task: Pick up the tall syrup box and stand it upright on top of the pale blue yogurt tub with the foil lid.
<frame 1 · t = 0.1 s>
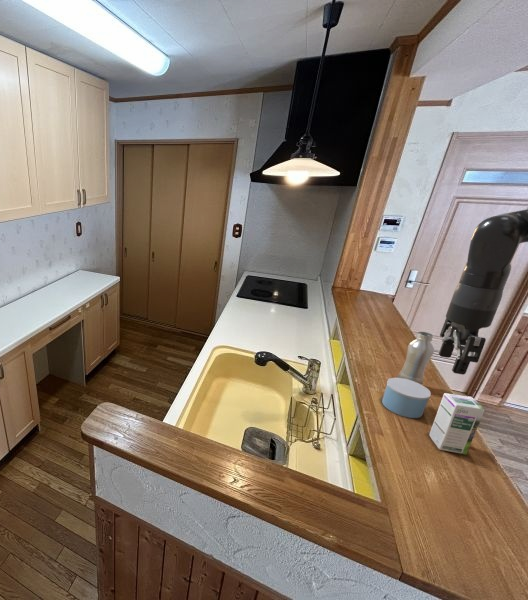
hand: (450, 364, 80), 25 cm above the worktop, tool pointing down, fingers open, 8 cm apart
yogurt tub: (401, 407, 102), on the worktop
syrup box: (446, 445, 87), on the worktop
silver metal bottle: (407, 386, 112), on the worktop
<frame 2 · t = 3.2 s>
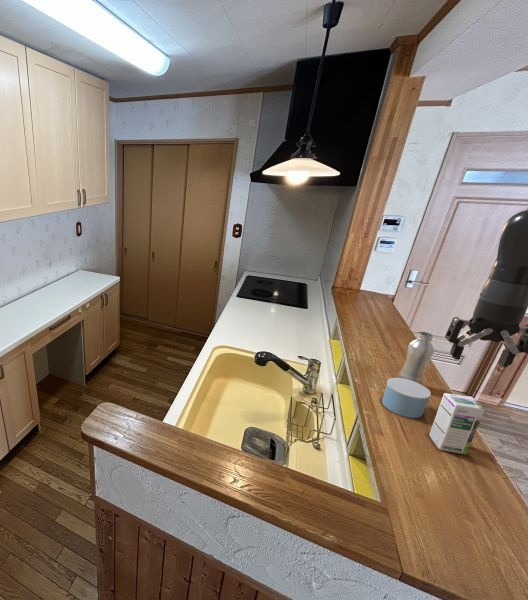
hand: (478, 361, 78), 26 cm above the worktop, tool pointing down, fingers open, 8 cm apart
nothing on the worktop moved.
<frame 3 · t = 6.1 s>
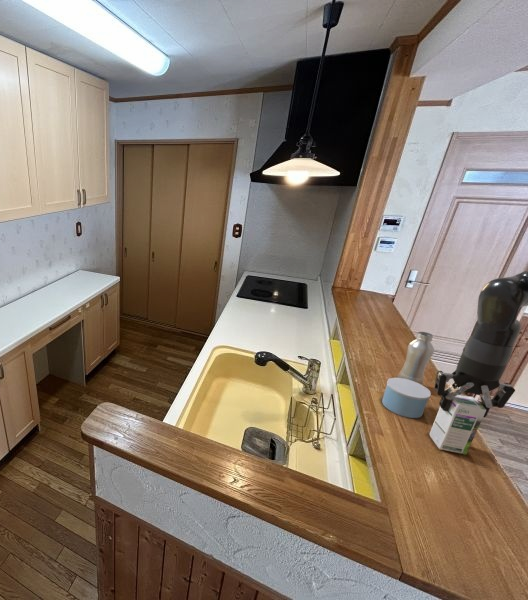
hand: (460, 412, 84), 11 cm above the worktop, tool pointing down, fingers closed on syrup box, 6 cm apart
syrup box: (446, 445, 87), on the worktop, touching gripper
everything else where it was.
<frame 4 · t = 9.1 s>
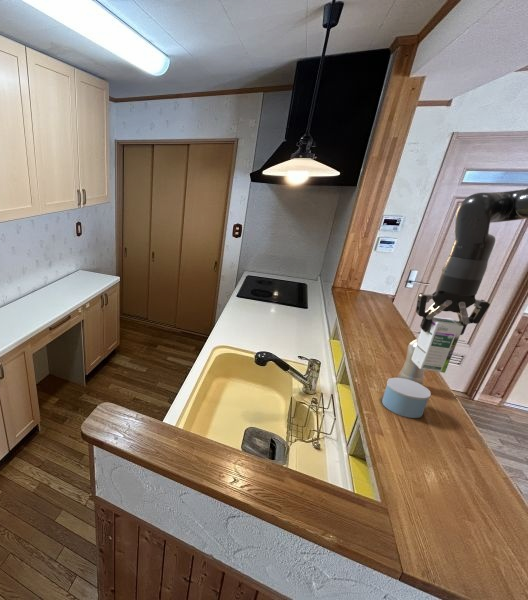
hand: (440, 332, 88), 28 cm above the worktop, tool pointing down, fingers closed on syrup box, 6 cm apart
syrup box: (426, 366, 92), point 17 cm above the worktop, touching gripper
everything else where it was.
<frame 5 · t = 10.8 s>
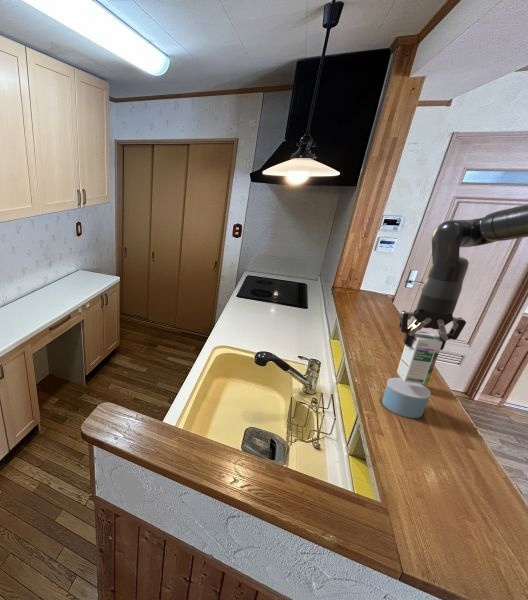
hand: (422, 347, 94), 21 cm above the worktop, tool pointing down, fingers closed on syrup box, 6 cm apart
syrup box: (410, 379, 98), point 10 cm above the worktop, touching gripper
everything else where it was.
when the fingers open (18 cm above the worktop, at t = 12.2 s): syrup box stays where it is, resting on yogurt tub.
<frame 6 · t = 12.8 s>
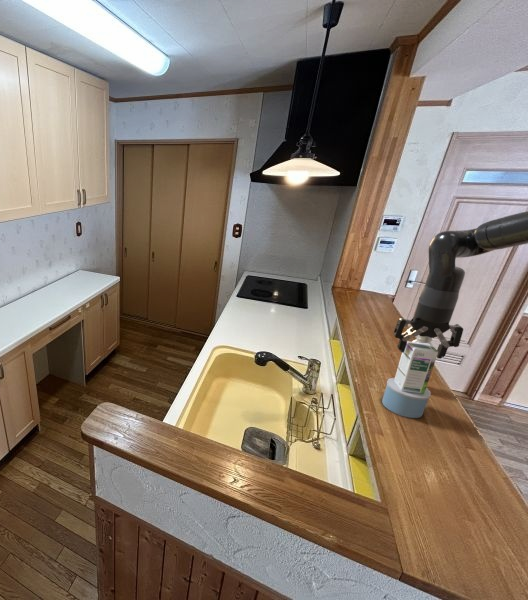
hand: (419, 354, 95), 19 cm above the worktop, tool pointing down, fingers open, 8 cm apart
yogurt tub: (401, 407, 102), on the worktop, touching syrup box
syrup box: (407, 387, 99), point 7 cm above the worktop, touching yogurt tub
everything else where it was.
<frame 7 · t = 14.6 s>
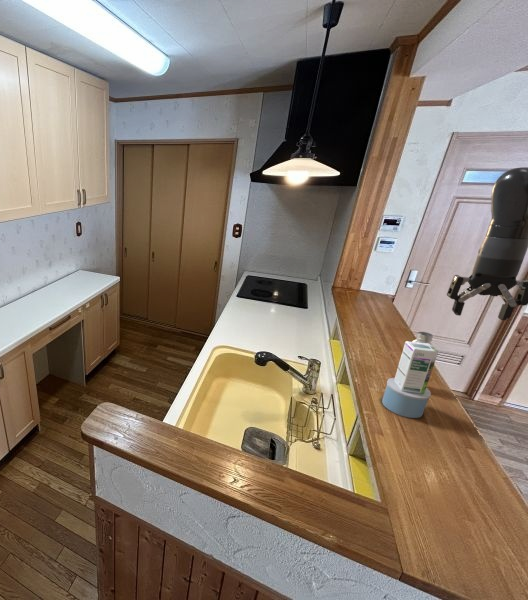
hand: (478, 316, 84), 34 cm above the worktop, tool pointing down, fingers open, 8 cm apart
nothing on the worktop moved.
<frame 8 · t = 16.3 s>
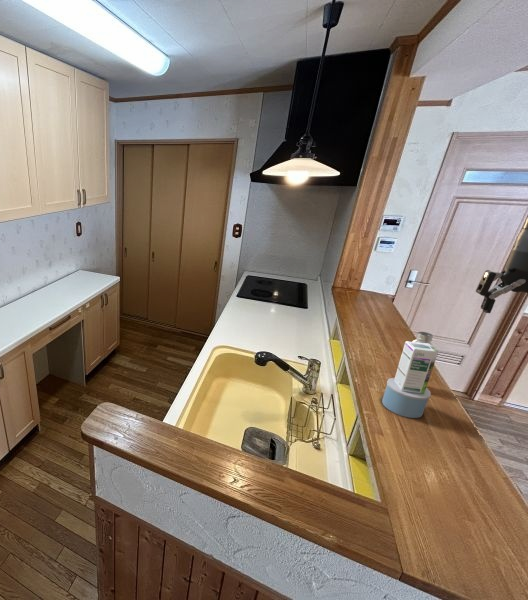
hand: (509, 314, 79), 36 cm above the worktop, tool pointing down, fingers open, 8 cm apart
nothing on the worktop moved.
at the end: syrup box 0.2 cm off-centre on the yogurt tub, point 7.3 cm above the yogurt tub's base; syrup box tilted 0°; the gripper is holding nothing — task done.
